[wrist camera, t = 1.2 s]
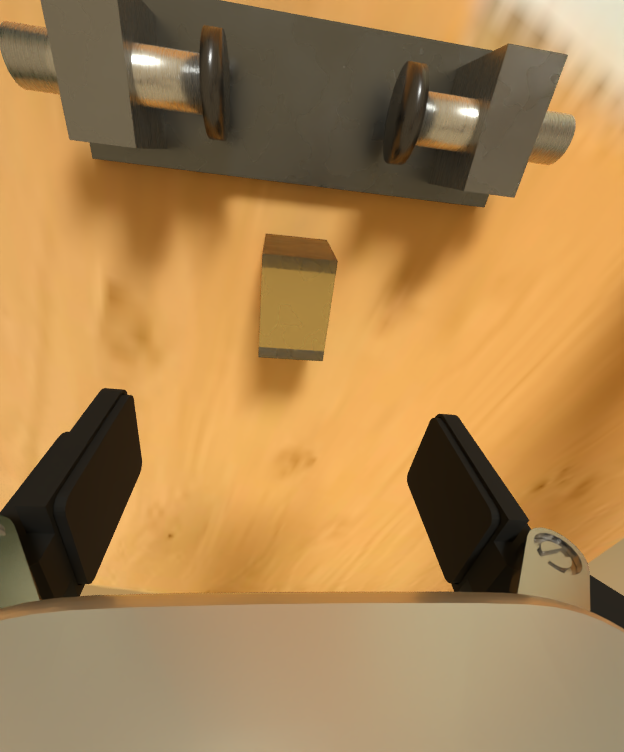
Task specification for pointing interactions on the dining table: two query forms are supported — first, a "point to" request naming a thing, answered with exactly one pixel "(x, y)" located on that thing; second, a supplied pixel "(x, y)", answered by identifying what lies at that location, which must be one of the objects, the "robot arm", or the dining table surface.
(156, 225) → the dining table surface
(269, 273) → the two-tone brushed block
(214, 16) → the shaft stand
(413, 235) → the dining table surface
